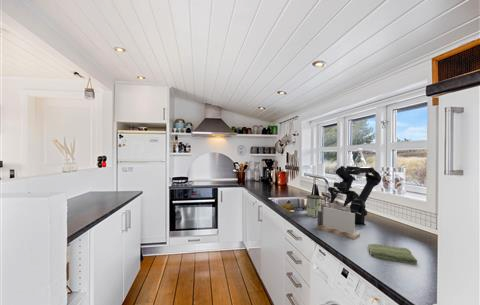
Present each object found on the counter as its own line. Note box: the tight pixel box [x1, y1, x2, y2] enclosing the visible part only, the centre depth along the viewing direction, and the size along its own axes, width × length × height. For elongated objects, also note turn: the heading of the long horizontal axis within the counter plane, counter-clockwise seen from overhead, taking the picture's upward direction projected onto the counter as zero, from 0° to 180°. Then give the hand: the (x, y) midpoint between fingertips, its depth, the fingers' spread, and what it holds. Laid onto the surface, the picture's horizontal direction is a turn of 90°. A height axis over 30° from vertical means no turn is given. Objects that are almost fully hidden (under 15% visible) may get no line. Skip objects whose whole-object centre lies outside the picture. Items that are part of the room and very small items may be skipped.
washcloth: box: [367, 243, 418, 265], centre depth 103 cm, size 13×18×3 cm
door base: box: [314, 209, 361, 240], centre depth 132 cm, size 23×8×10 cm, turn 41°
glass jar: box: [305, 194, 322, 218], centre depth 167 cm, size 10×10×14 cm
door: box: [321, 206, 356, 234], centre depth 132 cm, size 20×1×11 cm, turn 41°
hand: (337, 204), depth 140 cm, fingers open, 9 cm apart
